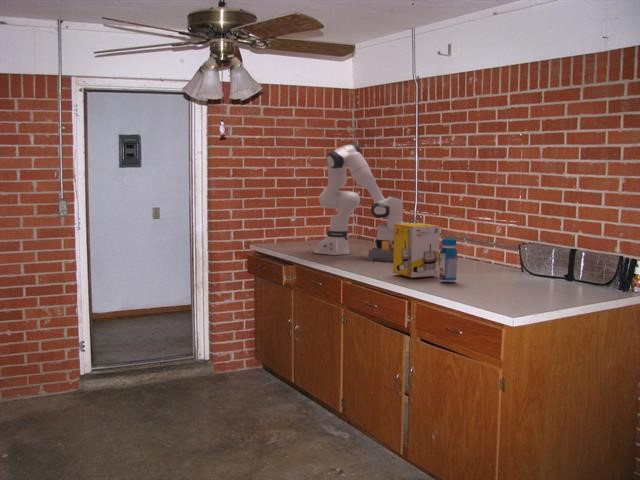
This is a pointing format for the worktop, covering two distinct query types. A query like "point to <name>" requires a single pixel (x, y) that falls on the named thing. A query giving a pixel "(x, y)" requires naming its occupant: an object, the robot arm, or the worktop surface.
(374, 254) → the breaker block
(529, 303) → the worktop surface
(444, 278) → the beverage bottle
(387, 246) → the breaker knob
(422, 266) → the packaging box
